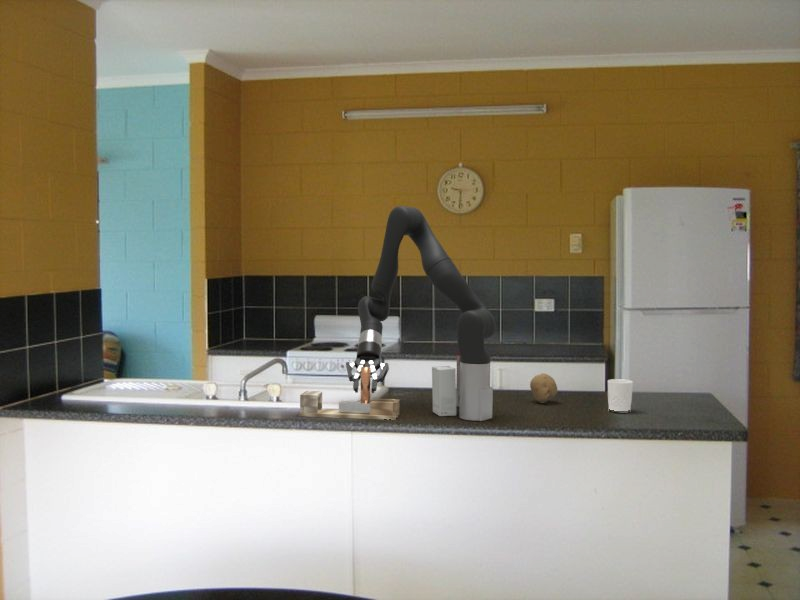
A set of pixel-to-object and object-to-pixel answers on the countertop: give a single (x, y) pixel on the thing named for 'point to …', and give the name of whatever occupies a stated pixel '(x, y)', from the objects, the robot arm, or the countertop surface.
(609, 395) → the white cup
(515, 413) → the countertop surface
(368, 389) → the copper rod stand
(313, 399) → the channel and socket
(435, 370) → the skincare box
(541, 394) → the tan round lump
